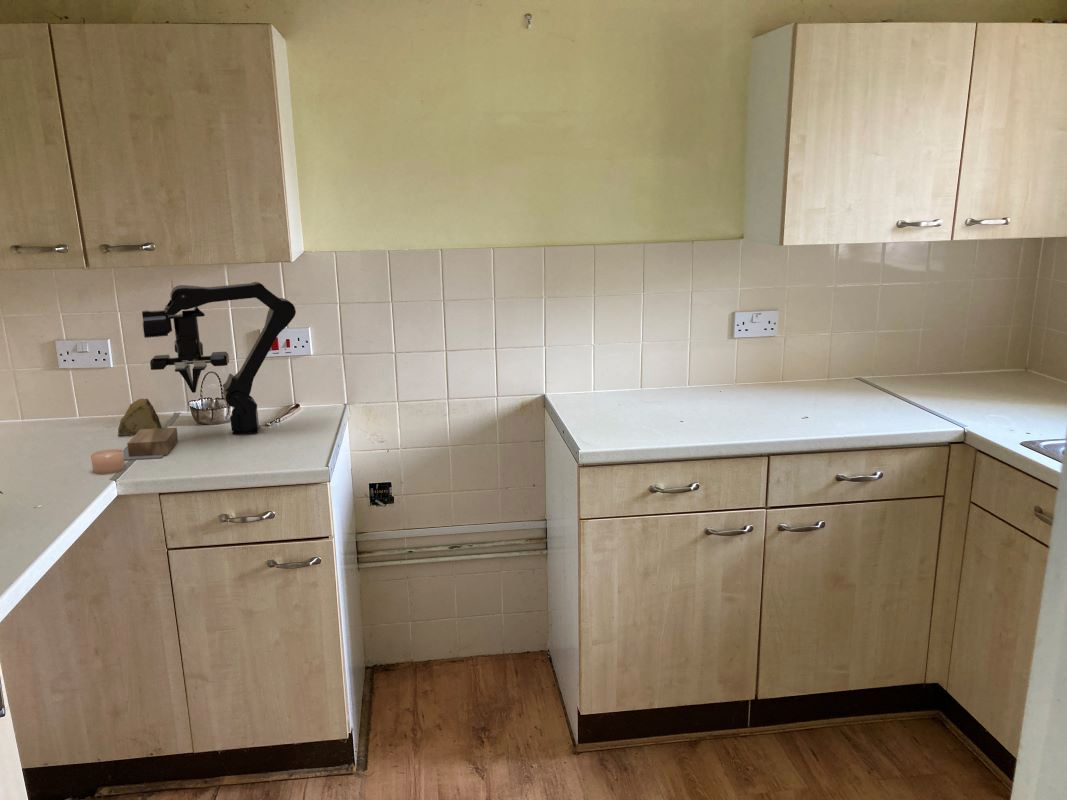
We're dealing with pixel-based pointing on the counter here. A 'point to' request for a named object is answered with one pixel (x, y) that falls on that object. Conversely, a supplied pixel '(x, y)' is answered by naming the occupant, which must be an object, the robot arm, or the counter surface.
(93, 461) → the peach rounded cylinder
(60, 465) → the counter surface
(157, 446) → the slab
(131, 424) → the rock
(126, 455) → the mat
